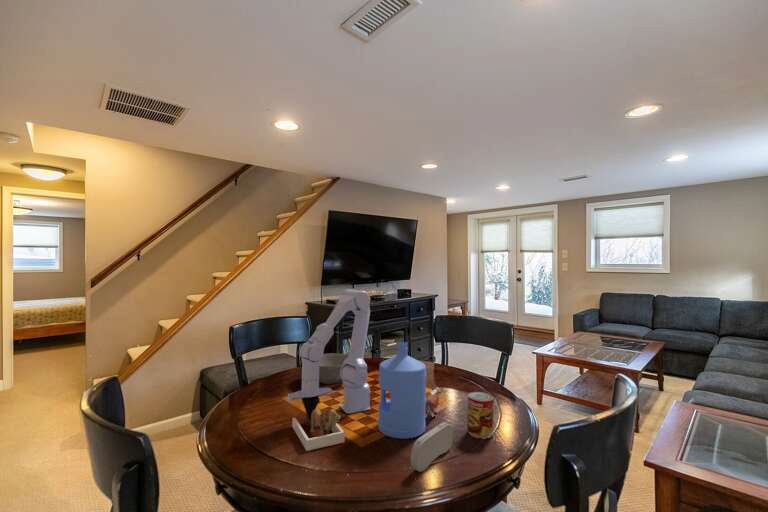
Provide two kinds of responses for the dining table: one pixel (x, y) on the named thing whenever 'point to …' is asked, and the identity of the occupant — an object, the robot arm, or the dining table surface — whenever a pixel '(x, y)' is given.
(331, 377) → the ceramic bowl
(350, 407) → the robot arm
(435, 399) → the bull figurine
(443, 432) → the grey rounded slab
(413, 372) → the water jug
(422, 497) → the dining table surface
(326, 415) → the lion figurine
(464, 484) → the dining table surface
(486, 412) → the canned food
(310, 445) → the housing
